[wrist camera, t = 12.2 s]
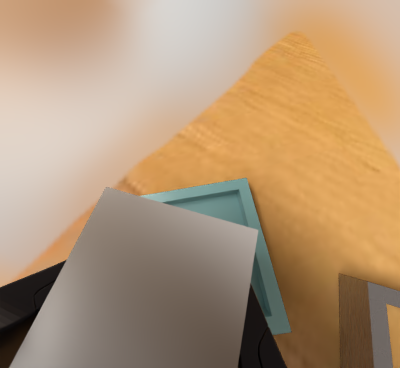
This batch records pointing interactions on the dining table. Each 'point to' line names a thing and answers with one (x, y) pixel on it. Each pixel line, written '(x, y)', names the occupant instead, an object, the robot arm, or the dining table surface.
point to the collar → (365, 323)
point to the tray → (243, 215)
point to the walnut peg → (146, 291)
